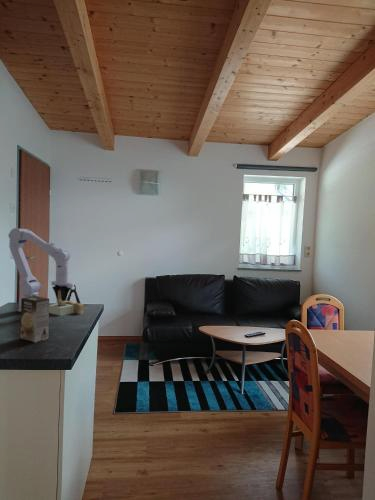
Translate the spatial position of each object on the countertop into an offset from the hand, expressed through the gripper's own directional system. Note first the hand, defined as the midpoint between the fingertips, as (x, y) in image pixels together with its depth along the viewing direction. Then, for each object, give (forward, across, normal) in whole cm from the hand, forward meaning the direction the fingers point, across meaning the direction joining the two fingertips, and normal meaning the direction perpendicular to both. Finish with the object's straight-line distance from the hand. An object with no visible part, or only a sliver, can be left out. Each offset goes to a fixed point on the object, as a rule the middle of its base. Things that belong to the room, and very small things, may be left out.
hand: (61, 300), depth 167 cm
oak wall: (+7, 0, +5) cm, 9 cm away
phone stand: (+7, -9, +14) cm, 18 cm away
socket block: (+7, 0, 0) cm, 7 cm away
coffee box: (+7, +27, -32) cm, 42 cm away
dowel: (+3, 0, 0) cm, 3 cm away
